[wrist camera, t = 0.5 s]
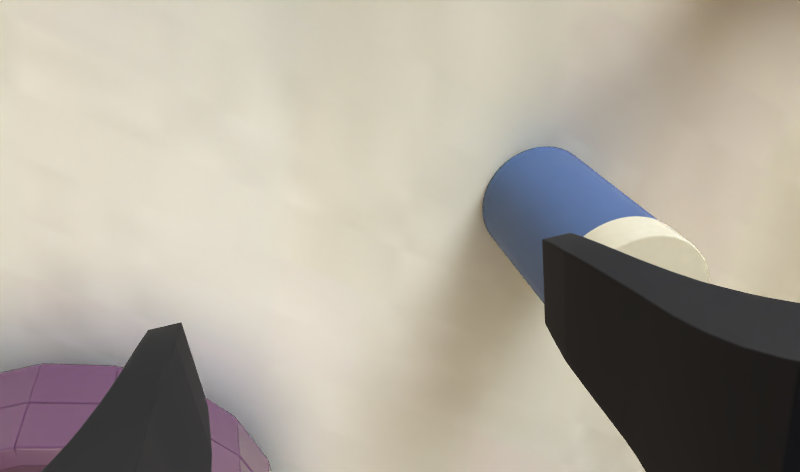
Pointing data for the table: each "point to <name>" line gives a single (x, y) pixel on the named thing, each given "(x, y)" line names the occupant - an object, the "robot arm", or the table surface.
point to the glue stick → (575, 216)
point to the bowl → (73, 404)
